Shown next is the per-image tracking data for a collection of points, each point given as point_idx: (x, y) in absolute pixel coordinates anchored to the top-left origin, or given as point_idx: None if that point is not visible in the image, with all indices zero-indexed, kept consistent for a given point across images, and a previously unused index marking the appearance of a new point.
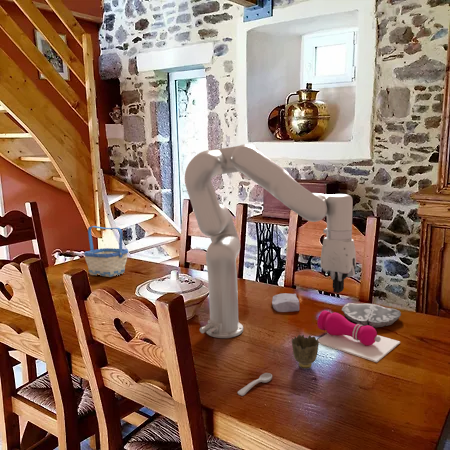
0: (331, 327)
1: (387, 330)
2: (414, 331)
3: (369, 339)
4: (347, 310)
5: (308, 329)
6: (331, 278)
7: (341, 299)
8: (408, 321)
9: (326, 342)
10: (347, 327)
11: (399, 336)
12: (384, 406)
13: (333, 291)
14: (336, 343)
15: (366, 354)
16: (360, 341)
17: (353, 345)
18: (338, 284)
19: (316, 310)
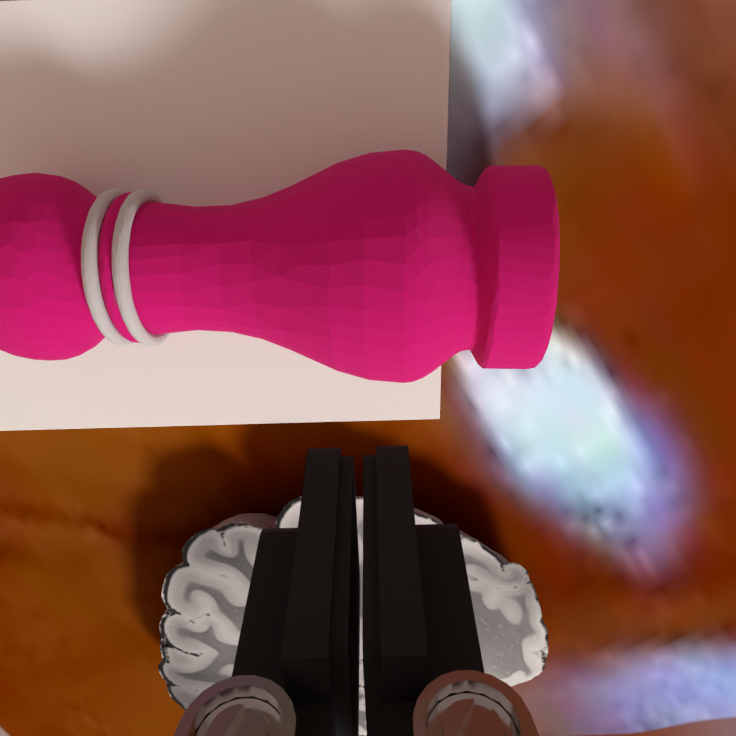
0: (359, 159)
1: (164, 529)
2: (49, 600)
3: None
4: (485, 584)
5: (638, 192)
6: (513, 696)
7: (639, 718)
8: (161, 679)
9: (350, 28)
10: (204, 227)
11: (56, 501)
12: None
13: (405, 448)
14: (269, 77)
15: None
16: (72, 180)
17: (143, 149)
18: (294, 593)
19: (725, 520)
